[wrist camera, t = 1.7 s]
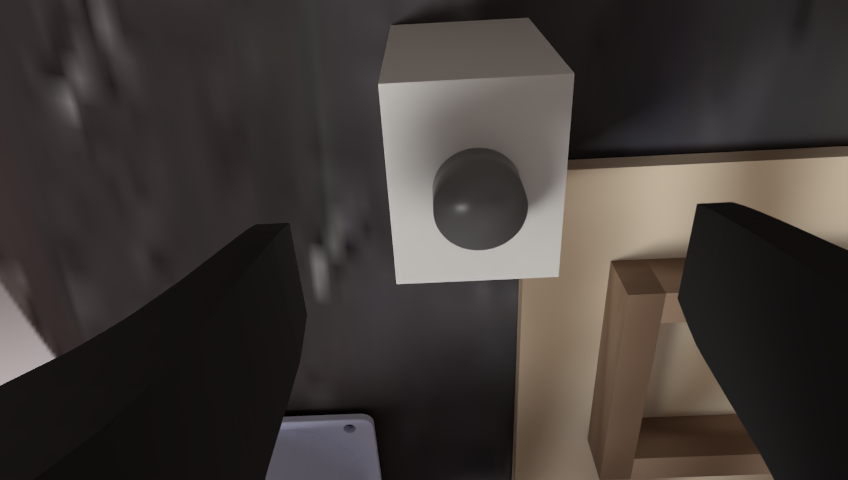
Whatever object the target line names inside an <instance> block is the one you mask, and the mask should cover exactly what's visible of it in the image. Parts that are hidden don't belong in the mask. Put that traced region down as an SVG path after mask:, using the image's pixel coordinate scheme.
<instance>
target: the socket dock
mask: <svg viewBox="0 0 848 480" xmlns="http://www.w3.org/2000/svg"><path fill="white" fill-rule="evenodd" d="M722 202H734V203H737V204H741V205H744V206H747V207H750V208H752V209H755V210H757V211H760V212H762V213H765V214H767V215H769V216H772V217H774V218H777V219H779V220H781V221H783V222H786V223H788V224H790V225H792V226H795V227H797V228H799V229H801V230H804V231H806V232H808V233H810V234H813V235H815V236H817V237H819V238H821V239H824V240H826V241H828V242H831V243H833V244H835V245H837V246H840V247H842V248H844V249H846V250H848V146H839V147H819V148H798V149H778V150H758V151H738V152H718V153H698V154H678V155H657V156H637V157H617V158H597V159H577V160H568V163H567V176H566V189H565V201H564V214H563V227H562V240H561V252H560V265H559V277H545V278H523V279H519V300H518V327H517V354H516V381H515V409H514V436H513V463H512V480H774V479H773V477H772V475H771V473H770V471H769V469H768V467H767V466H766V464H765V462H764V460H763V458H762V456H761V454H760V453H759V451H758V449H757V447H756V446H755V444H754V442H753V441H752V439H751V437H750V436H749V434H748V432H747V431H746V429H745V427H744V426H743V424H742V422H741V421H740V419H739V417H738V416H737V414H736V412H735V411H734V409H733V407H732V406H731V404H730V402H729V401H728V399H727V397H726V396H725V394H724V392H723V391H722V389H721V387H720V385H719V384H718V382H717V380H716V379H715V377H714V375H713V374H712V372H711V370H710V368H709V367H708V365H707V363H706V362H705V360H704V358H703V356H702V355H701V353H700V351H699V349H698V348H697V346H696V344H695V341H694V339H693V337H692V334H691V332H690V330H689V327H688V325H687V322H686V320H685V317H684V314H683V312H682V309H681V306H680V304H679V301H678V299H677V298H678V293H679V288H680V284H681V279H682V274H683V269H684V264H685V259H686V255H687V250H688V245H689V240H690V235H691V230H692V226H693V221H694V216H695V211H696V206H697V204H701V203H722Z"/></svg>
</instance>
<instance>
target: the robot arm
mask: <svg viewBox="0 0 848 480" xmlns="http://www.w3.org/2000/svg"><path fill="white" fill-rule="evenodd" d="M677 299H678V301H679V304H680V306H681V309H682V312H683V314H684V317H685V320H686V322H687V325H688V327H689V330H690V332H691V334H692V337H693V339H694V341H695V344H696V346H697V348H698V349H699V351H700V353H701V355H702V356H703V358H704V360H705V362H706V363H707V365H708V367H709V368H710V370H711V372H712V374H713V375H714V377H715V379H716V380H717V382H718V384H719V385H720V387H721V389H722V391H723V392H724V394H725V396H726V397H727V399H728V401H729V402H730V404H731V406H732V407H733V409H734V411H735V412H736V414H737V416H738V417H739V419H740V421H741V422H742V424H743V426H744V427H745V429H746V431H747V432H748V434H749V436H750V437H751V439H752V441H753V442H754V444H755V446H756V447H757V449H758V451H759V453H760V454H761V456H762V458H763V460H764V462H765V464H766V466H767V467H768V469H769V471H770V473H771V475H772V477H773V479H774V480H848V250H846V249H844V248H842V247H840V246H837V245H835V244H833V243H831V242H828V241H826V240H824V239H821V238H819V237H817V236H815V235H813V234H810V233H808V232H806V231H804V230H801V229H799V228H797V227H795V226H792V225H790V224H788V223H786V222H783V221H781V220H779V219H777V218H774V217H772V216H769V215H767V214H765V213H762V212H760V211H757V210H755V209H752V208H750V207H747V206H744V205H741V204H737V203H734V202H722V203H701V204H697V206H696V211H695V216H694V221H693V226H692V230H691V235H690V240H689V245H688V250H687V255H686V259H685V264H684V269H683V274H682V279H681V284H680V288H679V293H678V298H677ZM306 317H307V313H306V307H305V302H304V297H303V292H302V287H301V281H300V276H299V271H298V266H297V261H296V256H295V250H294V245H293V240H292V235H291V230H290V225H289V223H278V224H257V225H254V226H252V227H251V228H249V229H248V230H246V231H245V232H243V233H242V234H241V235H239V236H238V237H237V238H235V239H234V240H233V241H231V242H230V243H229V244H227V245H226V246H225V247H224V248H222V249H221V250H220V251H218V252H217V253H216V254H215V255H213V256H212V257H211V258H209V259H208V260H207V261H206V262H204V263H203V264H202V265H200V266H199V267H198V268H196V269H195V270H194V271H192V272H191V273H190V274H189V275H187V276H186V277H185V278H183V279H182V280H181V281H179V282H178V283H176V284H175V285H174V286H172V287H171V288H169V289H168V290H166V291H165V292H163V293H162V294H161V295H159V296H158V297H156V298H155V299H153V300H152V301H151V302H149V303H148V304H146V305H145V306H143V307H142V308H141V309H139V310H138V311H136V312H135V313H133V314H132V315H130V316H129V317H127V318H125V319H124V320H122V321H121V322H119V323H117V324H116V325H114V326H113V327H111V328H109V329H108V330H106V331H104V332H103V333H101V334H99V335H97V336H96V337H94V338H92V339H90V340H89V341H87V342H85V343H83V344H82V345H80V346H78V347H76V348H75V349H73V350H71V351H69V352H67V353H65V354H63V355H62V356H60V357H57V358H55V359H53V360H51V361H50V362H47V363H45V364H43V365H42V366H39V367H37V368H35V369H33V370H31V371H29V372H27V373H25V374H23V375H21V376H19V377H17V378H15V379H13V380H11V381H9V382H7V383H5V384H3V385H1V386H0V480H382V478H381V470H380V463H379V455H378V448H377V441H376V433H375V426H374V421H373V418H372V417H370V416H369V415H366V414H340V415H315V416H290V417H284V414H285V411H286V407H287V404H288V401H289V397H290V394H291V390H292V387H293V384H294V380H295V377H296V373H297V370H298V366H299V363H300V358H301V351H302V345H303V339H304V332H305V324H306ZM348 425H353V426H348Z"/></svg>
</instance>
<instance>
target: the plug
mask: <svg viewBox="0 0 848 480" xmlns="http://www.w3.org/2000/svg"><path fill="white" fill-rule="evenodd" d="M574 74H575V73H574V72H573V71H572V70H571V69H570V67H569V66H568V65H567V64H566V63H565V61H564V60H563V59H562V58H561V57H560V55H559V54H558V53H557V52H556V50H555V49H554V48H553V47H552V46H551V44H550V43H549V42H548V41H547V40H546V38H545V37H544V36H543V35H542V33H541V32H540V31H539V30H538V29H537V27H536V26H535V25H534V24H533V23H532V21H531V20H530V19H529V18H514V19H496V20H477V21H459V22H441V23H422V24H404V25H391V27H390V31H389V36H388V41H387V45H386V50H385V54H384V59H383V64H382V68H381V73H380V78H379V82H378V88H379V98H380V109H381V120H382V131H383V142H384V153H385V164H386V175H387V186H388V197H389V208H390V219H391V230H392V240H393V251H394V262H395V273H396V284H412V283H434V282H456V281H479V280H501V279H523V278H545V277H559V265H560V252H561V240H562V227H563V214H564V201H565V189H566V176H567V163H568V151H569V138H570V125H571V113H572V100H573V87H574Z"/></svg>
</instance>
